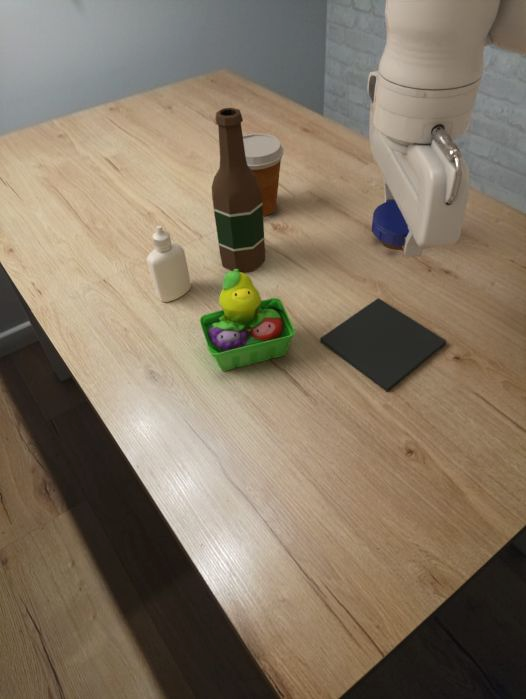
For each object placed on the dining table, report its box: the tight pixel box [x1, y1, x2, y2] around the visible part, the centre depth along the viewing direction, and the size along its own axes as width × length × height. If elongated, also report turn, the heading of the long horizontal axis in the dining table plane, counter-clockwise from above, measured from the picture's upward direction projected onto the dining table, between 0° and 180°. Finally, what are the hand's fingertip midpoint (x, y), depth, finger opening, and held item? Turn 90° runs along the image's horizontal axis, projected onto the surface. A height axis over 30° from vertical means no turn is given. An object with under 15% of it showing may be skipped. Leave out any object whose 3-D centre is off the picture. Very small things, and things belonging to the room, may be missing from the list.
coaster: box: [319, 297, 447, 393], centre depth 70 cm, size 12×12×1 cm
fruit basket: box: [199, 269, 296, 372], centre depth 67 cm, size 11×9×11 cm
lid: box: [371, 200, 409, 246], centre depth 57 cm, size 6×6×2 cm
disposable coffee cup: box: [242, 132, 285, 217], centre depth 91 cm, size 10×10×12 cm
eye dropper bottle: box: [146, 225, 192, 303], centre depth 76 cm, size 4×6×12 cm
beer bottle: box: [211, 107, 266, 273], centre depth 76 cm, size 8×8×24 cm
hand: (400, 232), depth 57 cm, fingers closed on lid, 6 cm apart
